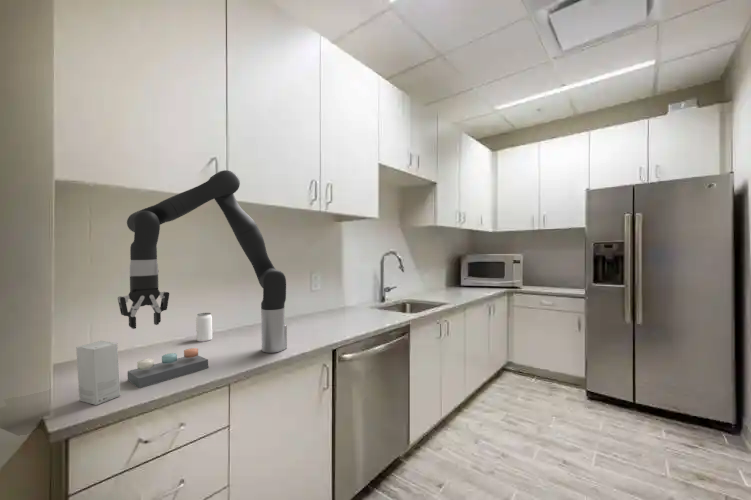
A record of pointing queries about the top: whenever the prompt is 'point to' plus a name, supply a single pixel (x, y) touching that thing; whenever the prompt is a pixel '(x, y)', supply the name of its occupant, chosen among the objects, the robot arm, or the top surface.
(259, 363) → the top surface
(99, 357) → the skincare box
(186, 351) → the terracotta button
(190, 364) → the console
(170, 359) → the teal button
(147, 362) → the cream button
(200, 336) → the can
